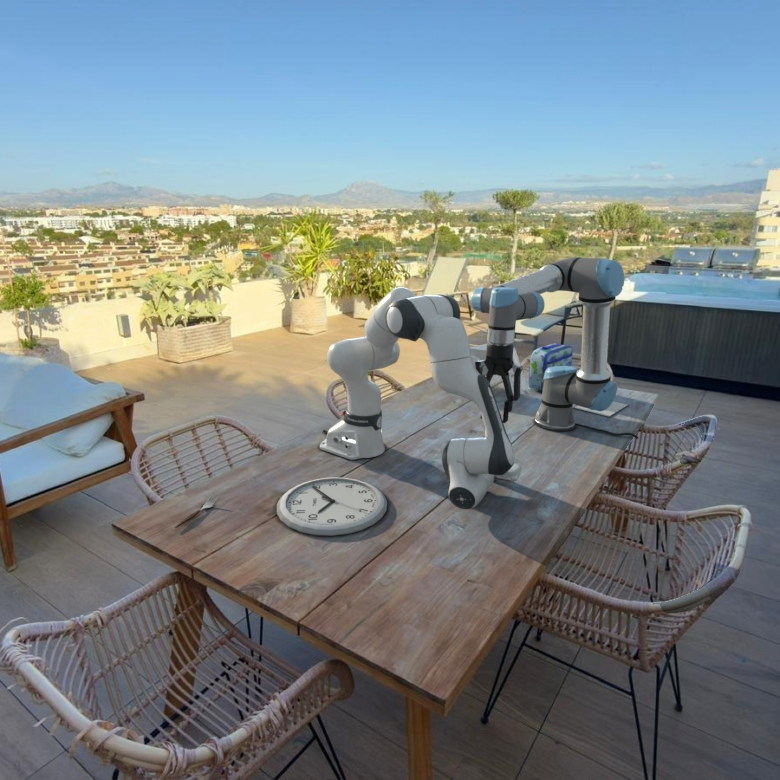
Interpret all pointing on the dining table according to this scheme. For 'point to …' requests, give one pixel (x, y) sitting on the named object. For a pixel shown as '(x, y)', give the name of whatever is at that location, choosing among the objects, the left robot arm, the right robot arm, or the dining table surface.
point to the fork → (206, 505)
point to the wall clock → (331, 506)
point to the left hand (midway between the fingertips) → (491, 456)
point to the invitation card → (609, 411)
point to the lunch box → (547, 362)
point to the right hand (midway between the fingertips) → (494, 419)
